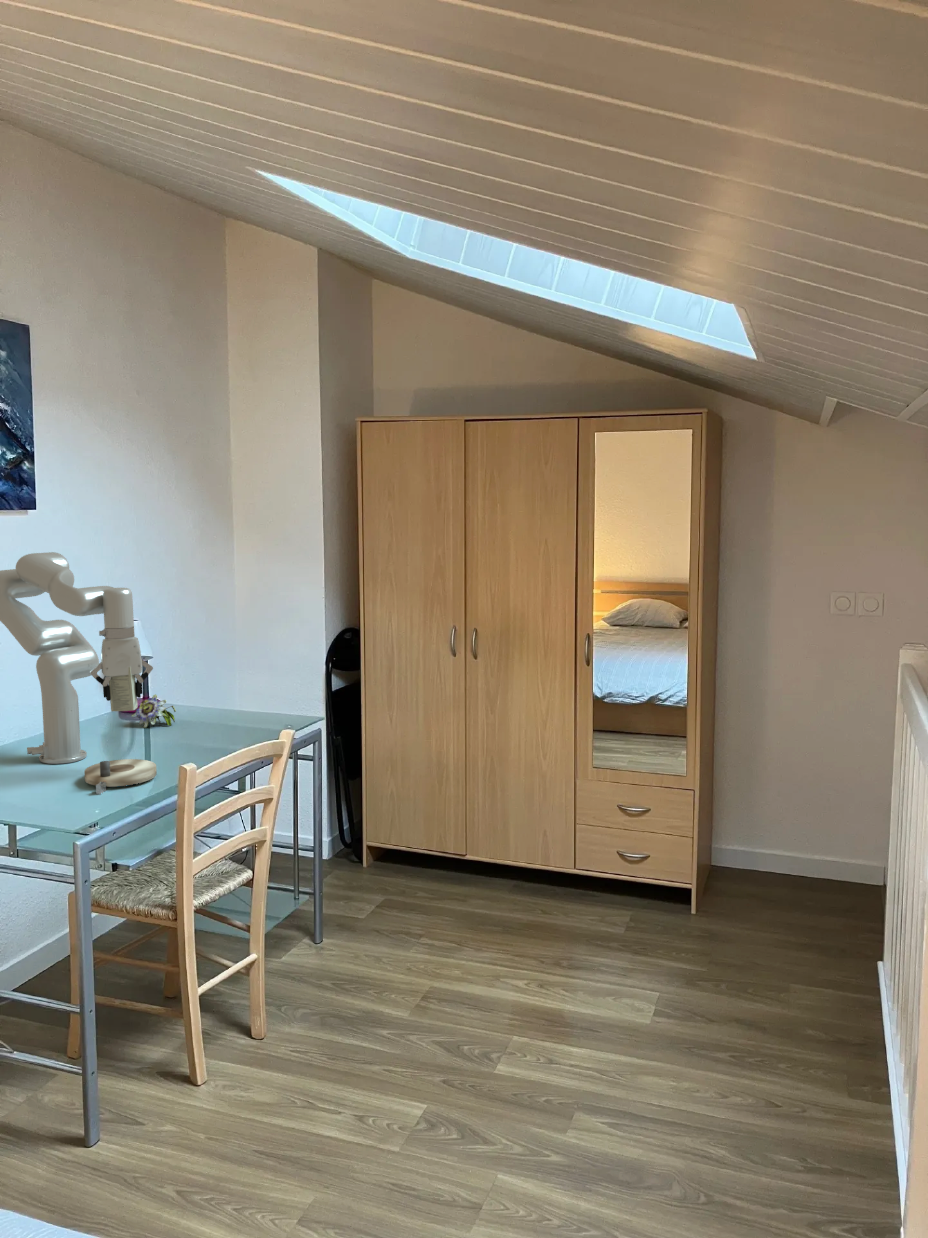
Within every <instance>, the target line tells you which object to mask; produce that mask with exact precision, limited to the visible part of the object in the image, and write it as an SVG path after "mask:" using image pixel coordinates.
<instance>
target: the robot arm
mask: <svg viewBox="0 0 928 1238" xmlns="http://www.w3.org/2000/svg"><path fill="white" fill-rule="evenodd" d="M74 583H75V576H74V573H73V571H72V570H71V569H70V564H69V561H68V559H67V558H66V557H65V556H64V555H63V554H61V553H59V552H55V551H54V552H53V551H51V552H49V551H48V552H36V553H35V552H33V553H28V554H25V555H23V556H21V557H20V558H19V559H18V560H17V562H16V563H15V568H13V569H2V570H0V622H1V623H2V624H3V625H4V627H5V628H7V630H8V632H10V634H11V635H12V636H13V638H14V639H15V640H16V641H17V642H18V644H19V645H20V646H21V648H22V649H24V651H25V652H27V654H29V655H31V656H35V657H37V656H38V658H37V660H36V664H35V669H36V673H37V678H38V680H39V685H40V692H41V693H40V694H41V707H42V708H41V709H42V725H43V727H42V728H43V742H42V744H39V745H38V746H35V747H34V746H31V747H27V748H26V750H27V751H26V753H27V755H31V756H36V755H38V760H39V762H41V763H42V764H52V765H58V764H69V763H75V762H79V761H82V760H84V759H85V758H86V757H88V756H87V754H88V753H87V751H86V750H84V749H81V733H80V732H81V729H80V728H81V727H80V707H79V706H80V705H79V696H78V695H79V694H78V692H77V690H76V689H75V687H74V685H73V684H72V682H71V681H74V680H80V679H84V678H87V677H90V676H92V677H93V678H94V679H95V680H96V681H97V682H98V683H99V684H100V685H102V688H103V692H102V694H103V698H106V701H110V686H109V681H110V679H111V677H119V676H126V675H129V668H128V667H131V675H135V680H136V693H137V699H139V698H141V697H142V696H141V695H143V692H144V691H143V683H144V681H145V680H146V679H147V678H148V677H149V675H150V673H151V672H152V671H153V669H154V666H152V665H151V664H149V663H148V662H146V661H145V660H143V659H142V651H141V647H140V645H141V644H140V641H139V637H137V636H135V622H134V621H135V620H134V619H135V618H134V605H133V603H134V602H133V591H132V589H130V588H128V587H113V586H109V585H97V586H89V587H75V586H74ZM45 593H48V594H49V599H50V600H51V602H52V604H53V605H54V606H55V607H56V608H58V609H59V610H61V611H63V612H65V613H67V614H69V615H71V616H75V617H87V616H94V615H100V614H101V615H102V614H103V624H104V625H103V626H104V628H103V629H102V630H99V631H98V636H102V637H104V639H102V641H101V642H102V643H101V655H100V659H99V655H98V654H97V651H96V650H95V649H94V647H93V646H92V645H91V644H90V642H89V641H88V640H87V639H86V638H85V636H83V634H82V633H81V632H80V631H79V629H78V628H77V627H76V626H75V625H74V624H73V623H71V622H70V621H67V620H64V619H54V620H43V619H42V618H40V617H39V616H38V615H37V614H36V613H35V611H34V610H33V609H32V608H31V607H29V606H28V605H27V604H26V603H23V602H21V601H19V600H18V599H23V598H32V597H37V596H40V595H42V594H45ZM100 660H101V661H100ZM143 667H144V668H145V671H143ZM100 670H101V673H102V675H103V678H102V677H101V676H100V675H99V674H98V673H99V671H100Z"/></svg>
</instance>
